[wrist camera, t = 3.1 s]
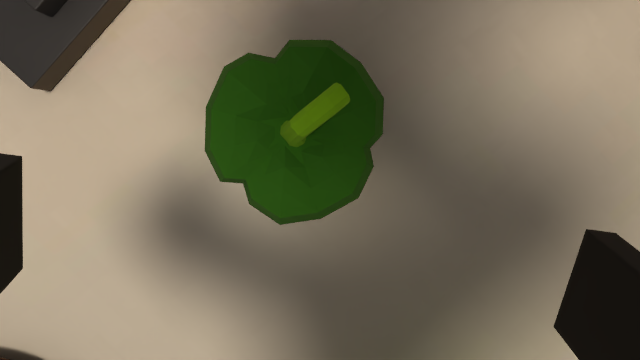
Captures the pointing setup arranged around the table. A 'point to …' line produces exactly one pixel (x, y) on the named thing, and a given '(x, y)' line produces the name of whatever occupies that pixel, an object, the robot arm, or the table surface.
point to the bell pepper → (295, 129)
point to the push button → (50, 35)
